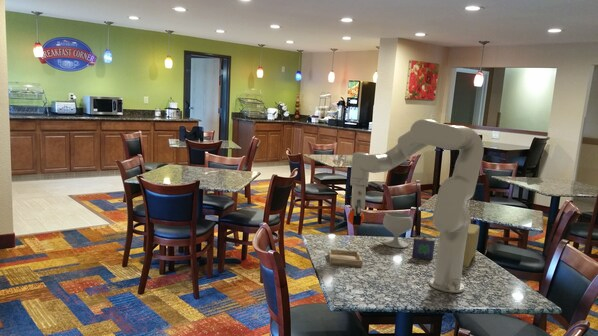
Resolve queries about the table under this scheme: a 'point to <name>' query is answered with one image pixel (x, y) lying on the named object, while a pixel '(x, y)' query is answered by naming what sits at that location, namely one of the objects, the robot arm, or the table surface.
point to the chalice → (397, 227)
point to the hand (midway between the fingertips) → (355, 222)
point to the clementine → (350, 217)
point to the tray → (345, 258)
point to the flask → (423, 248)
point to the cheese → (471, 244)
